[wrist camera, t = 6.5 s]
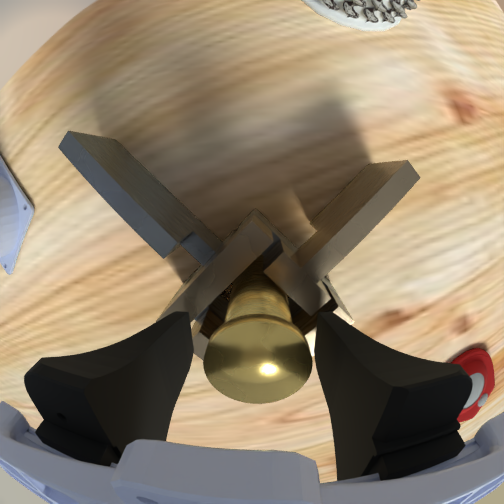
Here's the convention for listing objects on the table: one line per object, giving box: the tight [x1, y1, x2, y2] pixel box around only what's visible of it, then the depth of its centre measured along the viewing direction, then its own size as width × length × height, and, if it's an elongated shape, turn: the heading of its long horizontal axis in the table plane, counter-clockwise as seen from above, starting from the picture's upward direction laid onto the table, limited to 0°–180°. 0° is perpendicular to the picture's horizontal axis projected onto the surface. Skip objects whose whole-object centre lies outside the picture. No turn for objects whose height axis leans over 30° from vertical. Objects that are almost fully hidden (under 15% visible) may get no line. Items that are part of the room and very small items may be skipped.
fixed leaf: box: [58, 131, 340, 322], centre depth 14 cm, size 16×7×5 cm, turn 46°
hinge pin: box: [203, 253, 312, 404], centre depth 13 cm, size 4×4×9 cm
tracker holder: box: [451, 348, 495, 422], centre depth 18 cm, size 12×4×10 cm
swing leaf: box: [156, 160, 420, 361], centre depth 14 cm, size 13×7×5 cm, turn 136°
